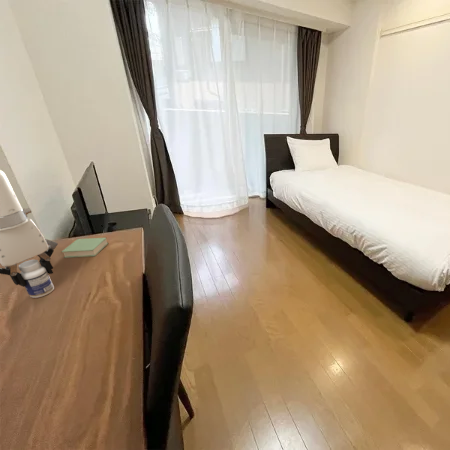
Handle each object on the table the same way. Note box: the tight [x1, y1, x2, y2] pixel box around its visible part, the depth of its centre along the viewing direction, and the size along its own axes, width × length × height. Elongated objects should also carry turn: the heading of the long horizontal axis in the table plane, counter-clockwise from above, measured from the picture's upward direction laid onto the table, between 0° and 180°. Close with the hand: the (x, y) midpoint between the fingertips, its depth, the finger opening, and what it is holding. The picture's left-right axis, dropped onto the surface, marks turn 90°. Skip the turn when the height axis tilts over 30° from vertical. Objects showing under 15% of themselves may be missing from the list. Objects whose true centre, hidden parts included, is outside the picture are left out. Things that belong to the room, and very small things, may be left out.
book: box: [61, 237, 109, 259], centre depth 97 cm, size 10×9×2 cm
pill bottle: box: [18, 259, 55, 299], centre depth 75 cm, size 5×5×10 cm
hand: (35, 278), depth 75 cm, fingers closed on pill bottle, 5 cm apart
